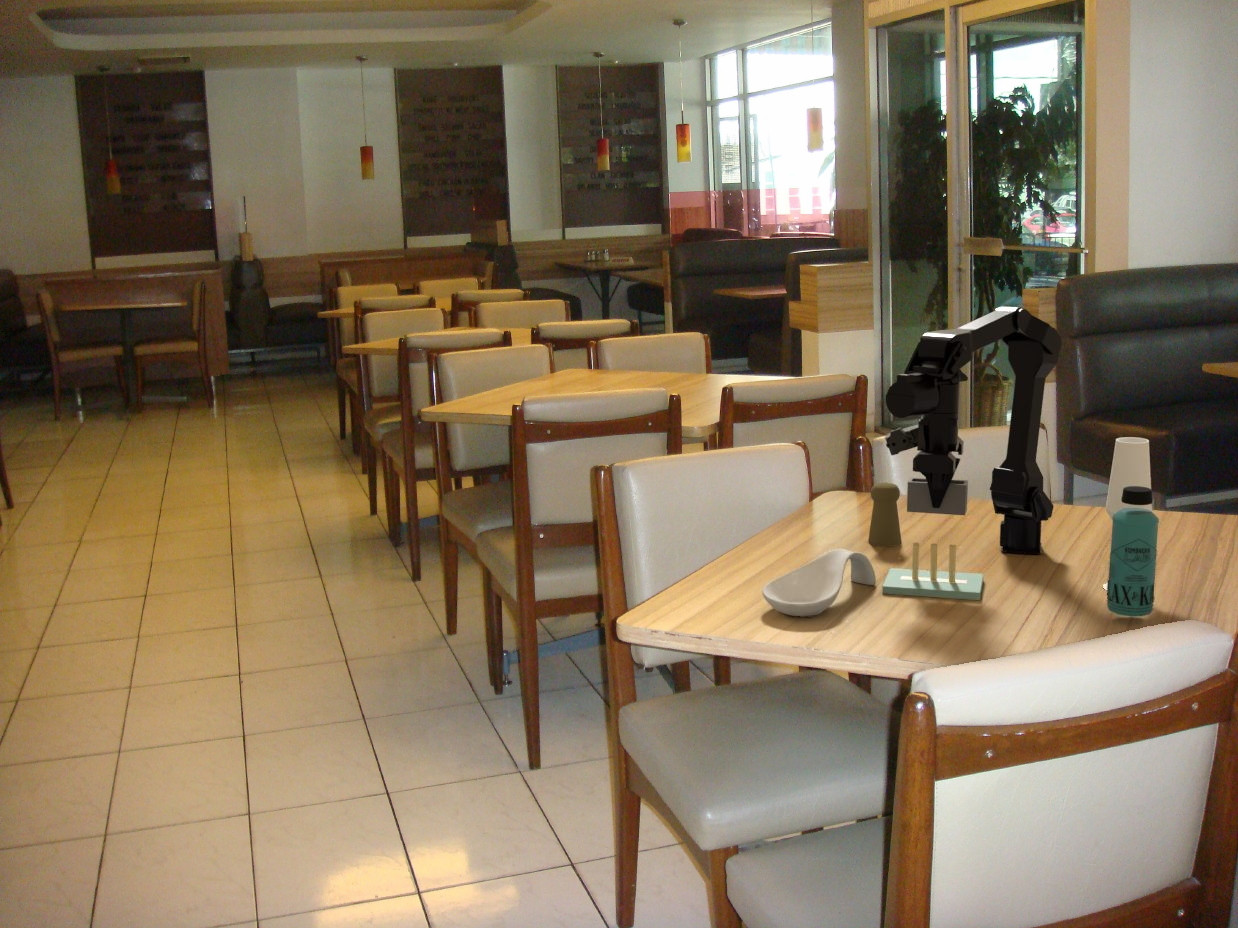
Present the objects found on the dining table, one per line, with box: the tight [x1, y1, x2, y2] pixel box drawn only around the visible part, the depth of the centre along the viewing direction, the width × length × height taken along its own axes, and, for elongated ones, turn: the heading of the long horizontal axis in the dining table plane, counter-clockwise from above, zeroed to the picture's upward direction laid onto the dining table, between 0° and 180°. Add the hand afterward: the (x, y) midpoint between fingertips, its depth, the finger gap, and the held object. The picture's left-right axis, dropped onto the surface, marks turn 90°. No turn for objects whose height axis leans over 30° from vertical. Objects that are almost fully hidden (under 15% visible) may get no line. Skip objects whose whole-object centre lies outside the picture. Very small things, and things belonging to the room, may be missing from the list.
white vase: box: [1102, 436, 1153, 591], centre depth 189 cm, size 7×7×24 cm
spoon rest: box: [761, 548, 877, 618], centre depth 191 cm, size 24×12×7 cm, turn 136°
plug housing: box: [906, 477, 969, 516], centre depth 198 cm, size 9×4×5 cm, turn 69°
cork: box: [867, 482, 903, 547], centre depth 222 cm, size 6×6×11 cm
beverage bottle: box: [1105, 486, 1160, 617], centre depth 176 cm, size 6×7×20 cm
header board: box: [881, 542, 984, 601], centre depth 195 cm, size 15×10×7 cm, turn 70°
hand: (937, 505), depth 198 cm, fingers closed on plug housing, 4 cm apart
